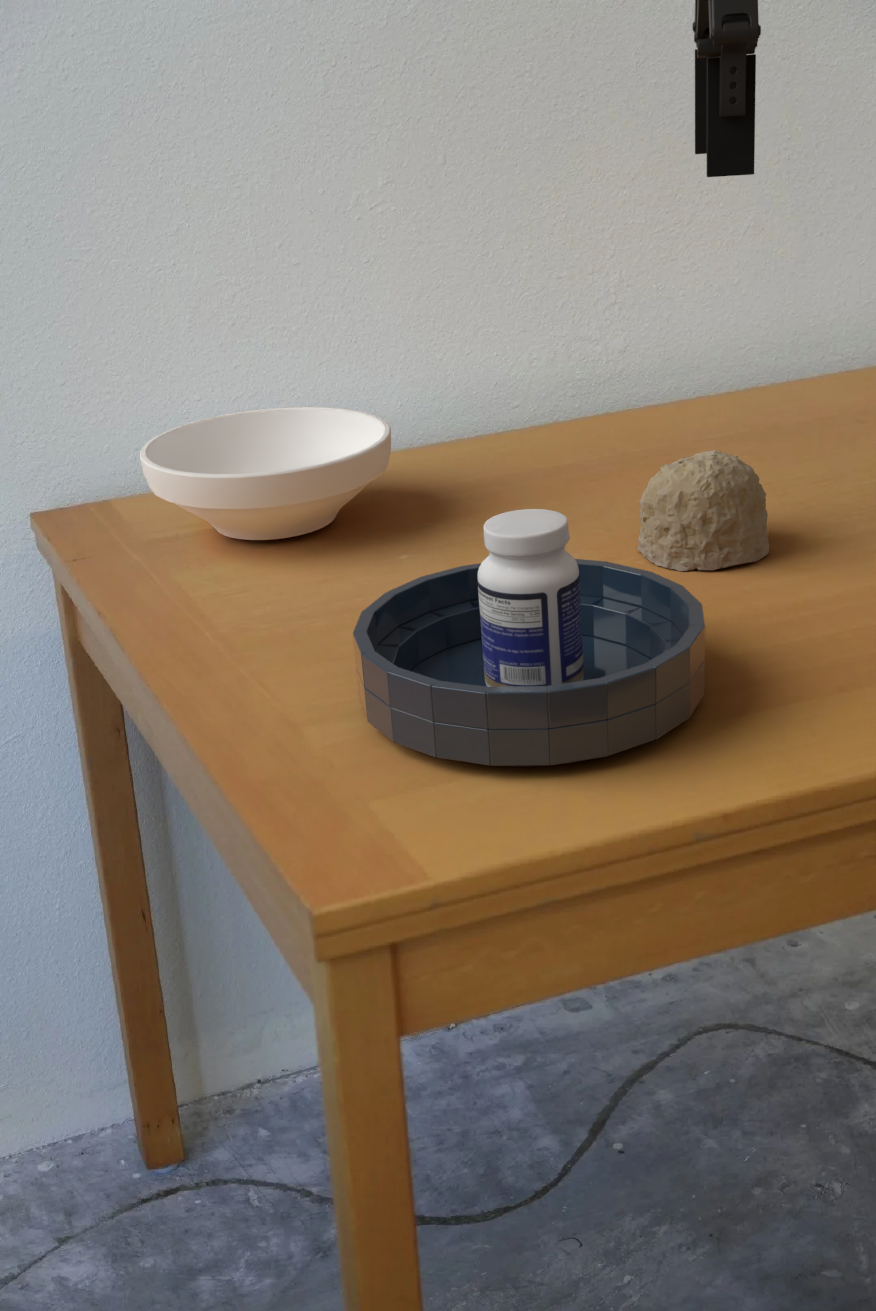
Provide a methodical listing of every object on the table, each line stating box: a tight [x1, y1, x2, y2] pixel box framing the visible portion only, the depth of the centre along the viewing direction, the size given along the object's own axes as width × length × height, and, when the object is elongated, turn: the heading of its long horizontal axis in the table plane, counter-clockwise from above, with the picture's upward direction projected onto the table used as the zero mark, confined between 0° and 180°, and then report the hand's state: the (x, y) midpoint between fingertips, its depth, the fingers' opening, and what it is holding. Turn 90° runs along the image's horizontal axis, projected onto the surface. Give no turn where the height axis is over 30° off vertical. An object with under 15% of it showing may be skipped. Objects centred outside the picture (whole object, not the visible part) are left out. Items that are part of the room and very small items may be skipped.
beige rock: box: [637, 449, 770, 572], centre depth 104 cm, size 9×10×10 cm
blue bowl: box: [352, 558, 706, 768], centre depth 84 cm, size 20×20×5 cm
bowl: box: [139, 406, 392, 541], centre depth 116 cm, size 20×20×7 cm
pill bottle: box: [478, 508, 584, 687], centre depth 83 cm, size 6×6×10 cm
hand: (722, 163), depth 93 cm, fingers open, 13 cm apart
